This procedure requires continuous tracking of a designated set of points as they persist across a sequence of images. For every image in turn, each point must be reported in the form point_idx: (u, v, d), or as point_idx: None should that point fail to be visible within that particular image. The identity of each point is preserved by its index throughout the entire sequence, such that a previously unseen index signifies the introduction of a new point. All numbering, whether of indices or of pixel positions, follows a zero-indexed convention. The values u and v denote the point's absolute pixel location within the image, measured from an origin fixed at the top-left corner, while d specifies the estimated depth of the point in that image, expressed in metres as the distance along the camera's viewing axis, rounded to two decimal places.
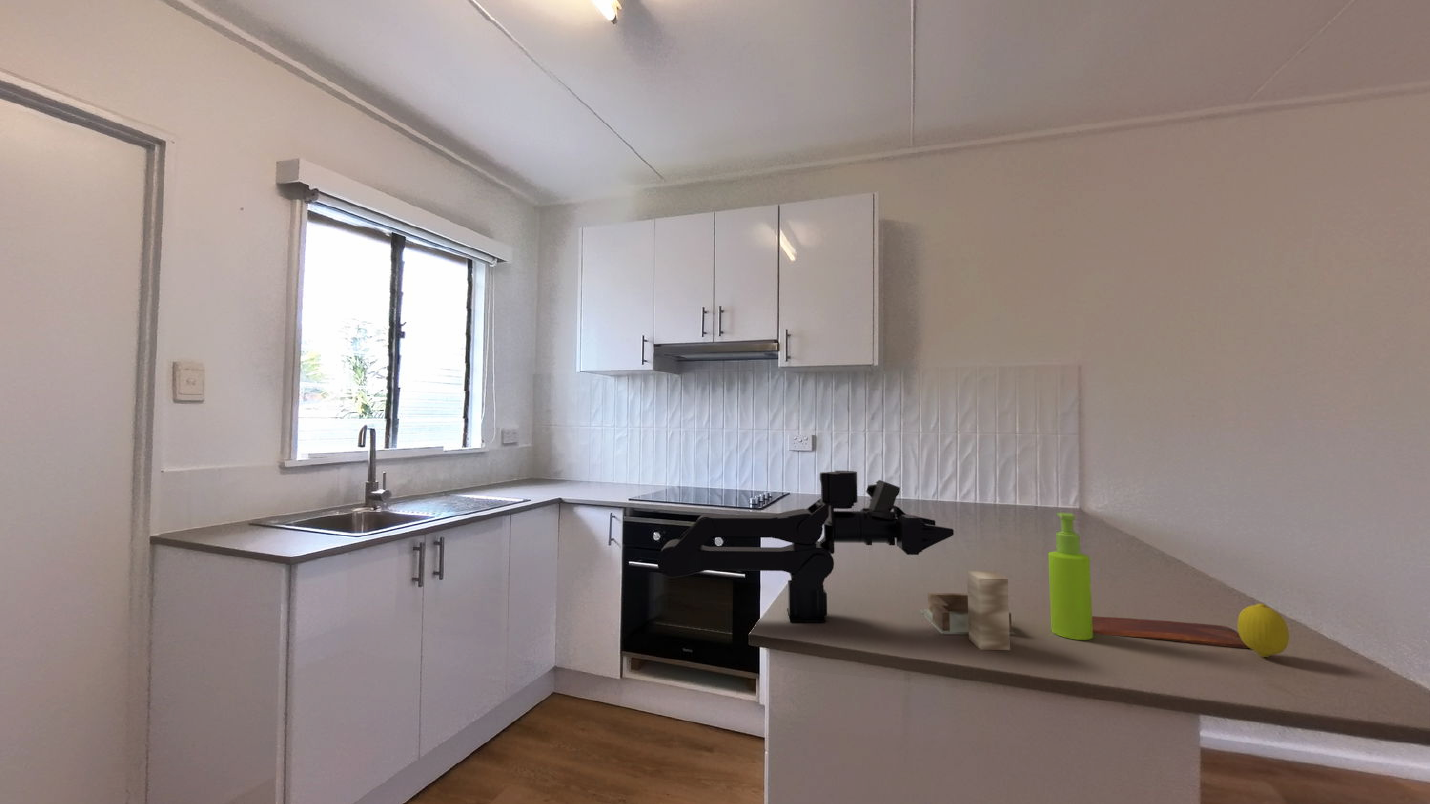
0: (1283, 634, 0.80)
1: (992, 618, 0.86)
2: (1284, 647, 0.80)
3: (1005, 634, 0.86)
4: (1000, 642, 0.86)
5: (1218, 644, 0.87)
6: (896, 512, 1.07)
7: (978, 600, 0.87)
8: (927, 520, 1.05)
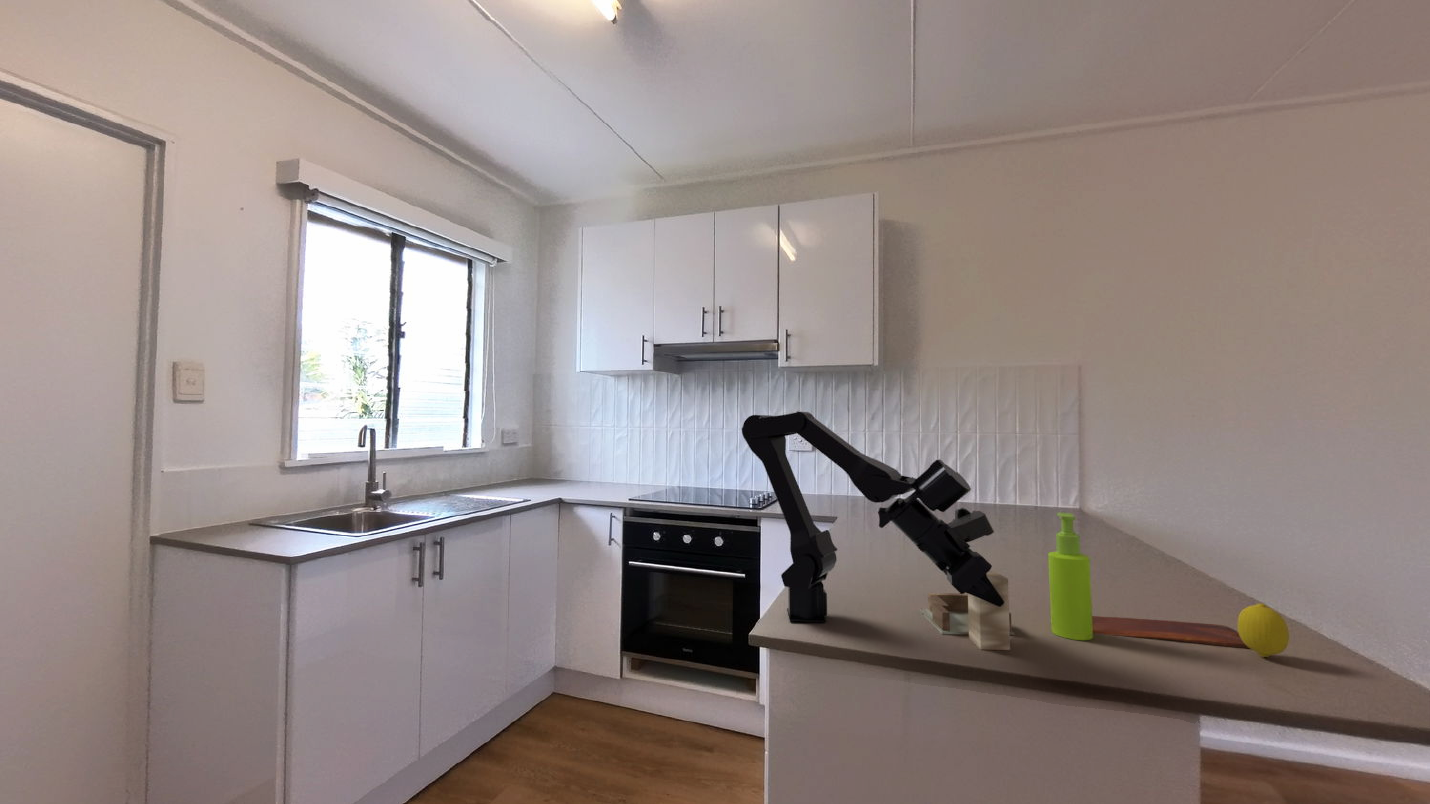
0: (1283, 634, 0.80)
1: (992, 618, 0.86)
2: (1284, 647, 0.80)
3: (1005, 634, 0.86)
4: (1000, 642, 0.86)
5: (1218, 644, 0.87)
6: None
7: (978, 600, 0.87)
8: None
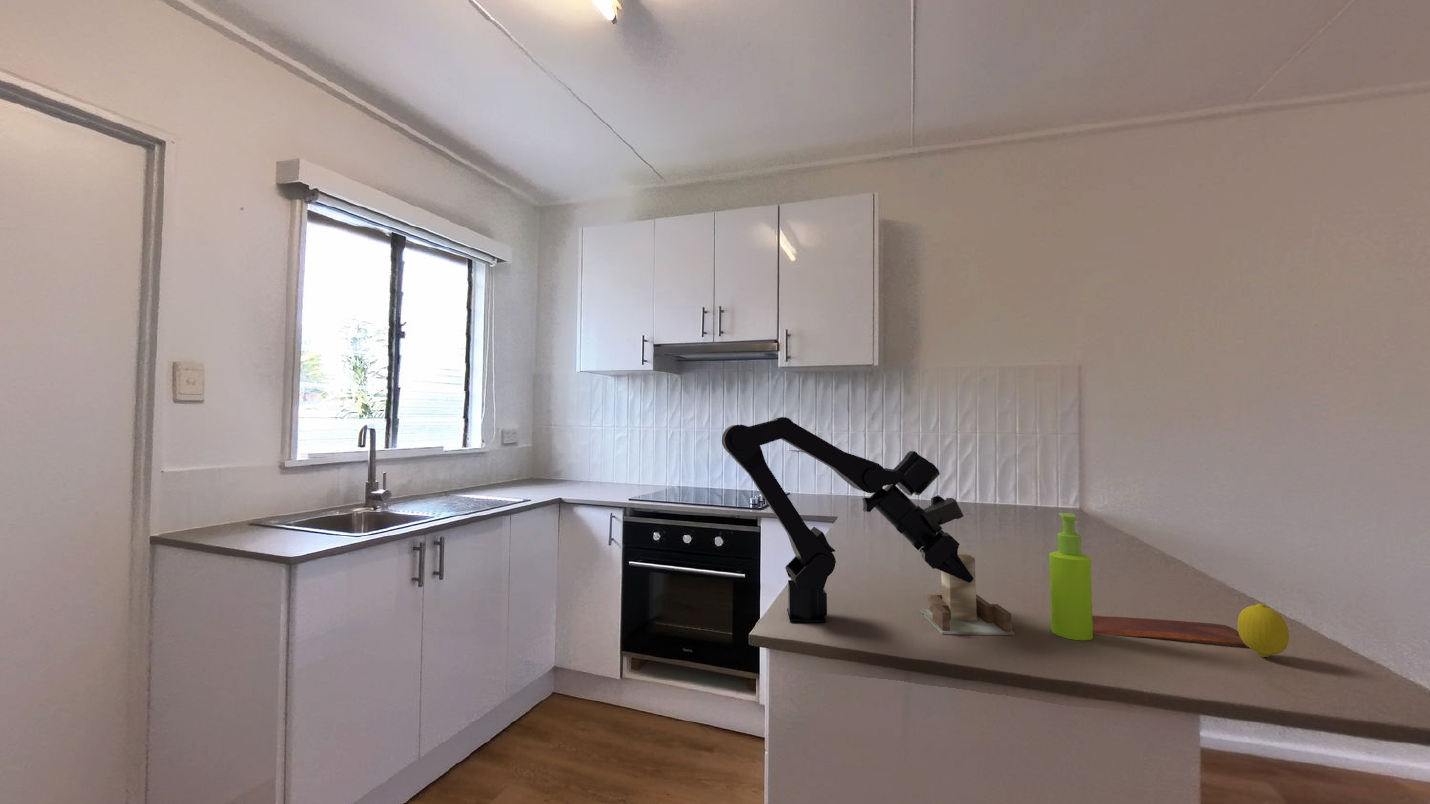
0: (1283, 634, 0.80)
1: (961, 592, 0.98)
2: (1284, 647, 0.80)
3: (972, 606, 0.98)
4: (968, 614, 0.98)
5: (1219, 643, 0.87)
6: None
7: (948, 576, 0.99)
8: None
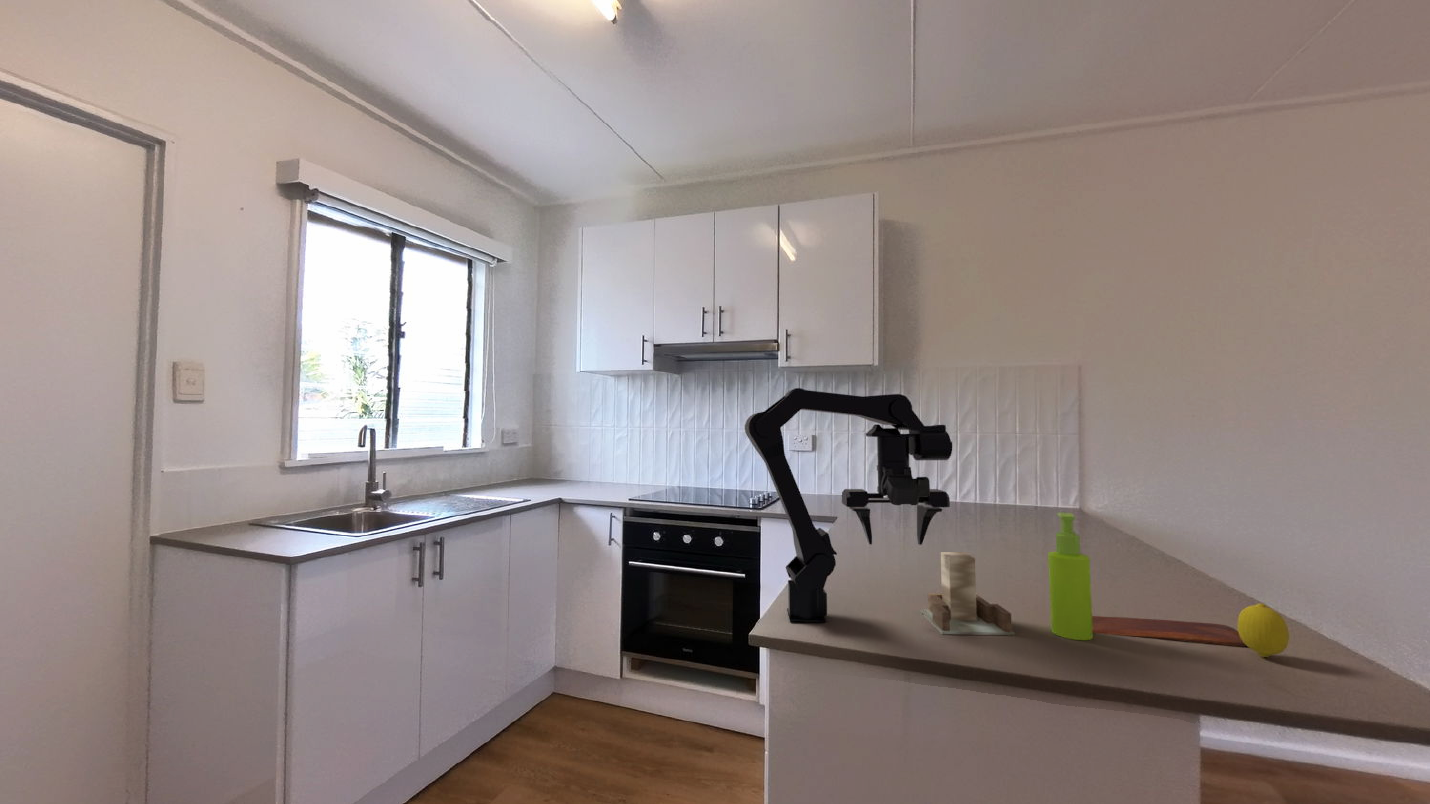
0: (1283, 634, 0.80)
1: (961, 592, 0.98)
2: (1284, 647, 0.80)
3: (972, 606, 0.98)
4: (968, 614, 0.98)
5: (1220, 643, 0.88)
6: (928, 508, 1.01)
7: (948, 576, 0.99)
8: (919, 537, 1.02)
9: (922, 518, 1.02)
